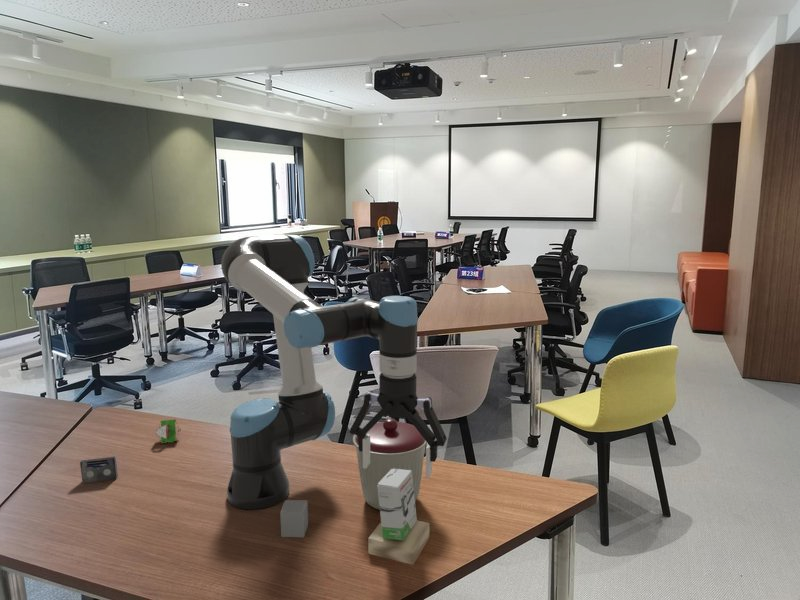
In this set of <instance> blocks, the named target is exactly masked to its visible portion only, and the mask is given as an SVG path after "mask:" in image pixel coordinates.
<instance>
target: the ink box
mask: <svg viewBox="0 0 800 600" xmlns="http://www.w3.org/2000/svg"><path fill="white" fill-rule="evenodd" d="M377 488H378V497H379V506H380V510H379V513H380V514H379V515H380V522H381V525H382V533H383V538H384V539H394V540H404V539H405V538H406V536H407V535H408V533H409V532H410V530H411V528H412V527H413V525H414V524H415V522H416V521H417V520H418V519H417V518H418V517H417V510H416V508H417V507H416V501H415V498H414V488H413V478H412V470H403V469H391V470H390V471H389V472H388V473H387V474H386V475H385V476H384V477H383V478H382V479H381V481H380V482H379V483H378V485H377Z"/></svg>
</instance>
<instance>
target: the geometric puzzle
mask: <svg viewBox="0 0 800 600" xmlns="http://www.w3.org/2000/svg"><path fill="white" fill-rule="evenodd" d="M159 424H160V425H158V427H159V428H158V429H156V431H155V435H156V436H157V435H158V437H159V438H160V439H159V442H160V443H161V444H167V442H168V443H173V442H172V441H176V442H177V437H179V435H178V434H179V433H180V429H179V427H180V426H179V424H178V422H177V420H176V418H175V419H167V420H160V422H159ZM176 436H177V437H176Z"/></svg>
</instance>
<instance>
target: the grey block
mask: <svg viewBox="0 0 800 600" xmlns="http://www.w3.org/2000/svg"><path fill="white" fill-rule="evenodd" d="M308 507H309V506H308V500H306V499H305V500H303V499H300V500H299V499H297V500H296V499H294V500H293V499H286V500H285V499H284V502H283V505H282V507H281V510H280V512H279V513H280V514H279V515H280V535H281V538H305V535H306V532H307V529H308V526H309V511H308Z"/></svg>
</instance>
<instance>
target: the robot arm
mask: <svg viewBox="0 0 800 600" xmlns="http://www.w3.org/2000/svg"><path fill="white" fill-rule="evenodd" d="M315 262H316V261H315V255H314V253H313V250H312V247H311V246H310V244H309V242H308V241H306V239H305V238H304V237H302V236H300V235H297V234H275V235H262V236H260V235H259V236H245V237H242V238H239V239H237V240H234V242H232V243H231V244H230V245H229V246H228V247H227V248H226V249H225V251H224V253H223V254H222V257H221V263H220V265H221V267H220V269H221V271H222V275H223V277H224V279H225V280H226V281H227V283H229V285H231V287H233V288H234V289H235V290H238V291H239V292H240V291H241V292H246V293H247V294H248V295H249V296H251V298H253V299H254V300H255V301H257V302H258V303H259V304H260V305H261V306H262V307H264V308H265V310H267V311H268V312H270V313H271V314H272V317H273V324H274V332H275V338H276V340H275V341H276V345H277V346H276V347H277V354H278V360H279V361H278V362H279V368H280V374H281V382H282V387H281V388H280V390H279V391H278V392H277V393H278V394H277V397H278V401H276V400H275V399H273V398H269V397H264V398H261V399H260V398H256V399H251V400H249V401H246V402H243V403H241V404H240V405H238V406H237V407H236V408H235V409H234V410H233V411H232V412H231V415H230V422H229V423H230V427H229V433H230V441H231V442H230V443H231V455H232V456H231V458H232V471H231V475H230V477H229V482H228V485H227V487H226V489H227V491H226V496H227V501H228V503H229V504H230V505H231V506H233V507H234V508H238V509H241V510H261V509H266V508H269V507H273V506H275V505H278V504H279V503H281V502H283V501H285V499H286V498H287V497H288V495H289V493H290V482H289V478H288V477H287V474H286V472H285V468H284V466H283V464H282V457H281V451H282V450H285V449H287V448H288V449H289V448H290V447H294V446H298V445H301V444H304V443H307V442H310V441H316V440H317V439H319V438H322V437H325V436H326V435H329V433H330V432H331V430H332V428H333V426H334V424H335V420H336V407H335V403H334V401H333V400H332V396H331V394H329V393H328V392H327V391H324V388H323V387H324V386H323V385H322V384H321V383H319V382H318V381H317V380H316V371H315V366H314V358H313V351H312V348H315V347H318V346H323V345H326V344H327V345H328V344H333V343H336V342H337V343H338V342H343V341H347V340H352V339H359V338H363V337H367V338H368V337H369V338H372V339H375V340H378V341H379V348H378V350H379V355H378V356H379V372H380V374H379V377H378V378H379V382H378V383H379V386H378V387H379V388H378V389H379V393H375V392H374V391H373V390H368V392H366V393H365V395H364V396H363V405H362V406H361V407H360V410H359V412H358V413H357V416H356V418H355V419H354V421H353V424H352V425H351V428H350V429H349V434H351V435H357V436H358V444H359V445H358V446H359V451H361V452H363V468H367V467H368V465H369V464H370V434H366V433H367V432H368V431H369V430H370V429H371V428H372V427H373V426H374V425H375V424H376V423H379V421H381V419H382V418H383V417H384V416H385V415H386V416H388V417H389V418H391V419H394V418H397V419H402V420H404V419H407V421H408V422H410V424H411V423H412V424H411V425H414V426H415V428H416V429H417V430H418V431H419V433H420V434H421V435H422V437H423V438H424V439H425V440H426V442H427V444H426V446H425V478H426V479H429V478H431V475H432V473H433V462H435V463H436V460H437V458H438V447H444V446H445V445H446V442H447V439H448V438H447V436H446V434H445V431H444V429H443V427H442V425H441V422H440V421H439V419H438V416H437V414H436V412H435V410H434V408H433V400H432V397H431V396H427V397H426V398H418V395H417V374H416V372H417V371H418V370H417V369H418V368H417V366H418V364H417V362H418V361H417V359H418V357H417V354H418V353H417V350H418V348H417V347H418V323H419V317H418V303H417V301H416V300H415V298H413V297H410V296H407V295H406V296H402V295H388V296H384V297H382V298H381V299H380V300H379V301H376V300H372V299H370V298H367V297H357V296H355V297H351V298H349V299H347V301H346V302H344V303H339V304H338V303H337V304H336V303H335V304H332V305H320V304H319V303H318V302H316V301H315V300H314V299H312V298H311V297H309V296H308V295H307V294H305V290H306V288H307V286H308V285H309V278H310V277H311V276H312V275H313V273H314V268H315V265H316V264H315ZM376 401H377V403H378V405H379V406H380V407H381V408H380V409H379V411H378V412H376V414H375V415H374V416H373V417H372V418H371V419H370V420H369V421H368V422H367V423H366V424H365V425H364V426H363V427H361V425H362V423H363V421H364V419H365V417H366V415H367V413H368V412H369V410H370V408H371V406H372V405H373V404H374V403H376ZM417 406H419V407H420V409H421V410H422V411H423V412H424V415H425V417H426V420H427V421H428V424H429V426H430V427H429V426H428V424H427V423H426V422H425V421H424V419H423V418H422V416H421V415H420V413H419V412H418V410H417V409H416V408H417Z"/></svg>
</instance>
